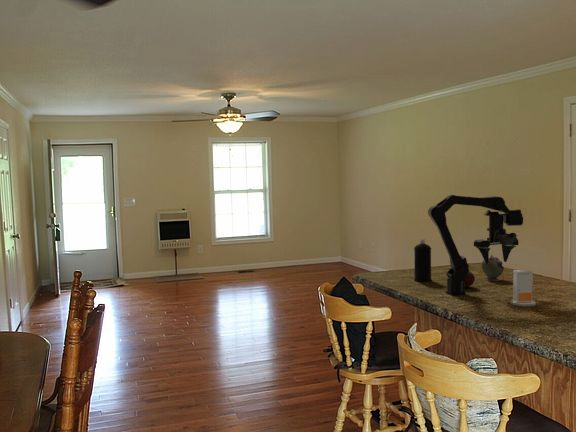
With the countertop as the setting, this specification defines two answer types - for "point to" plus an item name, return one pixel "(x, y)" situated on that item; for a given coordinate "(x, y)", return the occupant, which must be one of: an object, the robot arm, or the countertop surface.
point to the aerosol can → (422, 262)
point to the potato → (469, 279)
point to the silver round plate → (523, 303)
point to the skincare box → (522, 285)
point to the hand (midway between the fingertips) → (496, 262)
